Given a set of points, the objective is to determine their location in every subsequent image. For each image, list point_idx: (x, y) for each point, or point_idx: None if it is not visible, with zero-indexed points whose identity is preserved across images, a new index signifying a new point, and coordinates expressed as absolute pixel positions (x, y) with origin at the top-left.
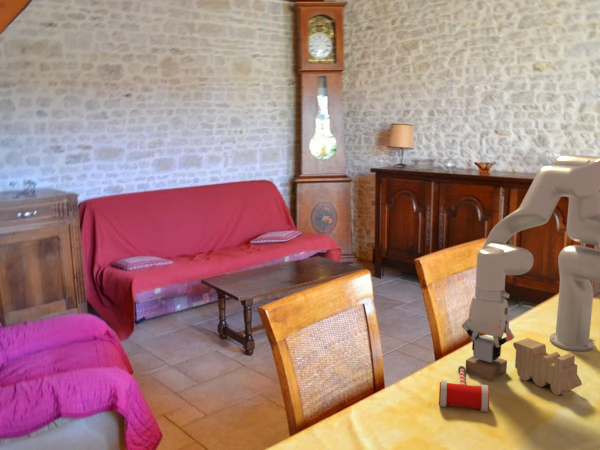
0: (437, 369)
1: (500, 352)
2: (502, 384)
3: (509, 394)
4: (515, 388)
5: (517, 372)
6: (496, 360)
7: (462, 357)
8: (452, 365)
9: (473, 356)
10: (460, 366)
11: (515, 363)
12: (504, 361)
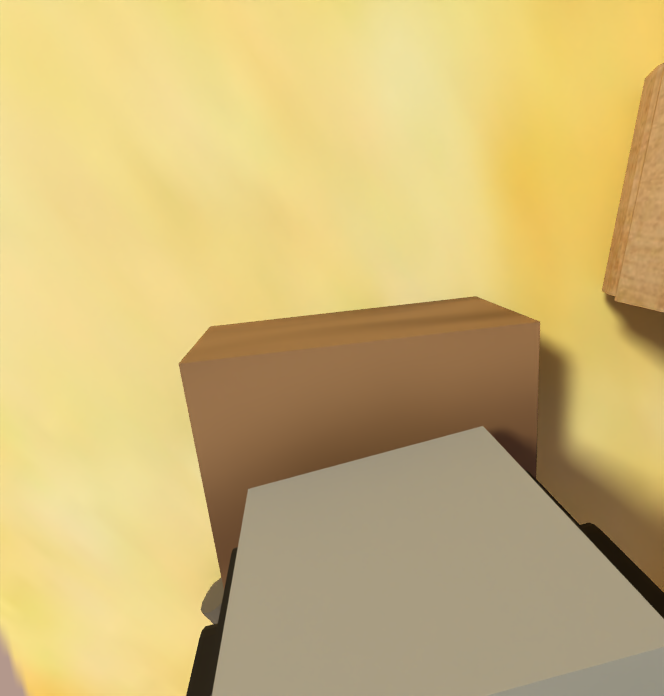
0: (97, 683)
1: (619, 554)
2: (556, 487)
3: (656, 557)
4: (652, 460)
5: (610, 293)
6: (454, 419)
7: (9, 363)
8: (102, 554)
9: (222, 538)
10: (216, 621)
11: (647, 308)
12: (531, 367)
